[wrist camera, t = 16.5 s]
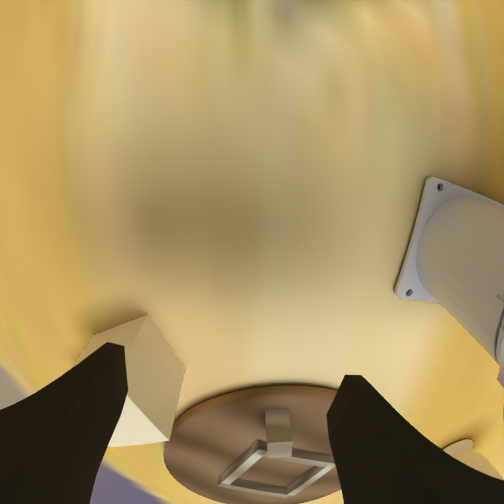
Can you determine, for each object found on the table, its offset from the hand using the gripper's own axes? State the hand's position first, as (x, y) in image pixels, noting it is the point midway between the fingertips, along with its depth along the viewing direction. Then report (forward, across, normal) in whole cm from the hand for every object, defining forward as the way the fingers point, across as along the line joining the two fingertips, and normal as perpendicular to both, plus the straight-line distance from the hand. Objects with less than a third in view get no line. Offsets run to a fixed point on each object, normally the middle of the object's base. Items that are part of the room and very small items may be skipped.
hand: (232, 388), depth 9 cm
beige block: (+9, +7, +8) cm, 14 cm away
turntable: (+9, -6, +18) cm, 21 cm away
